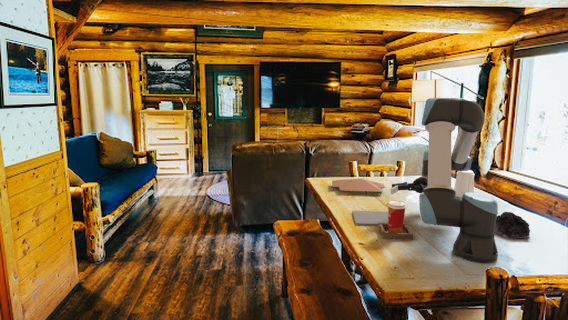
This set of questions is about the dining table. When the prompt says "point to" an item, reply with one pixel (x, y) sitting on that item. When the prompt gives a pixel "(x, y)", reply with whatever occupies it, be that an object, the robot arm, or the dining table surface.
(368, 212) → the slate tile
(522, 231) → the dark brown lumpy mound
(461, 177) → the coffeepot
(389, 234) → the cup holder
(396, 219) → the paper cup
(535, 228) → the dining table surface
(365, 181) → the house
